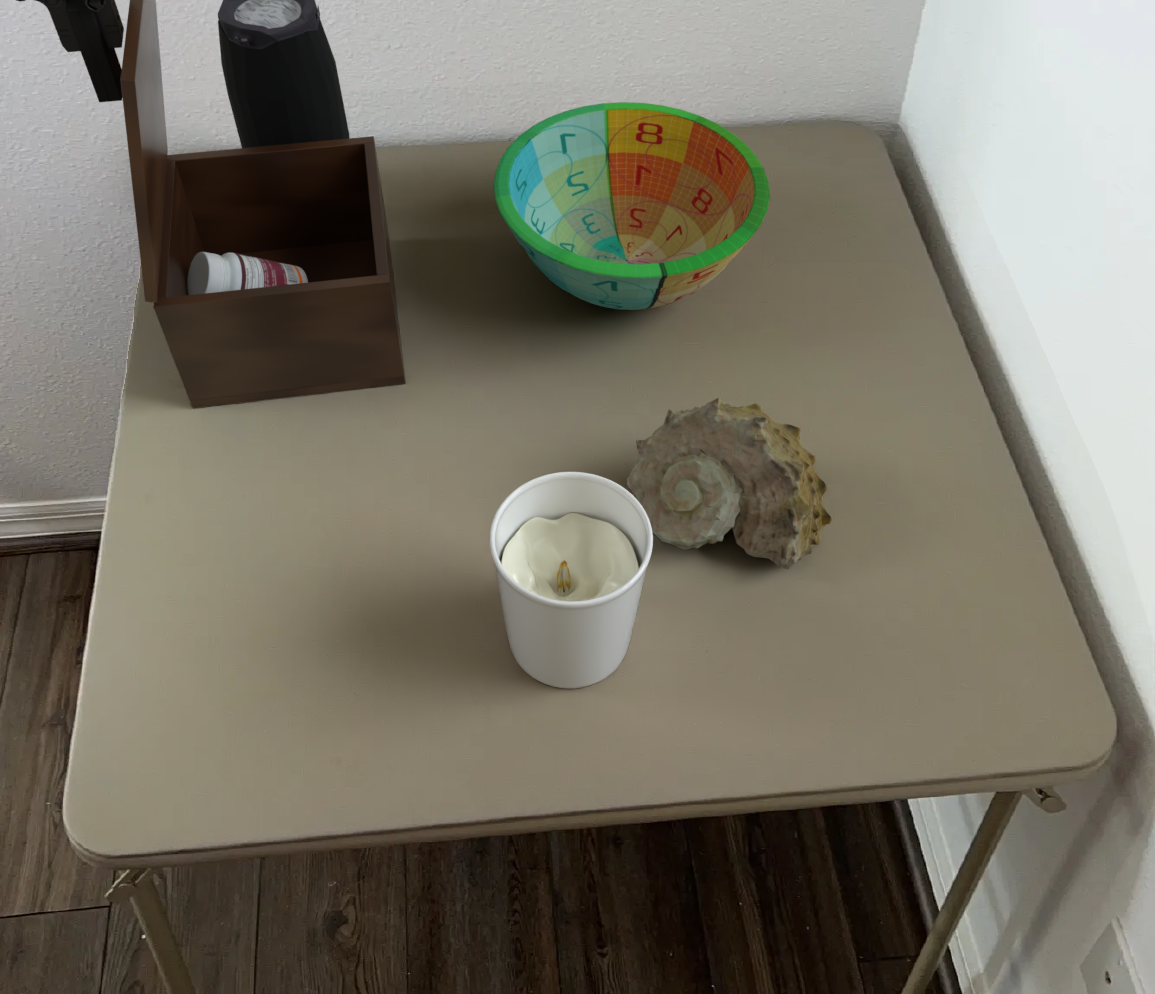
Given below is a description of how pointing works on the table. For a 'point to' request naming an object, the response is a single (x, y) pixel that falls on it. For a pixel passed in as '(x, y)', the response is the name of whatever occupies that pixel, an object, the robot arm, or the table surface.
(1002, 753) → the table surface
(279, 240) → the chest
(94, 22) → the robot arm
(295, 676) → the table surface
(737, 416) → the seashell
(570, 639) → the candle holder
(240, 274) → the pill bottle
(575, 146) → the bowl
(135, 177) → the lid
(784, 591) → the table surface
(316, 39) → the portable speaker
